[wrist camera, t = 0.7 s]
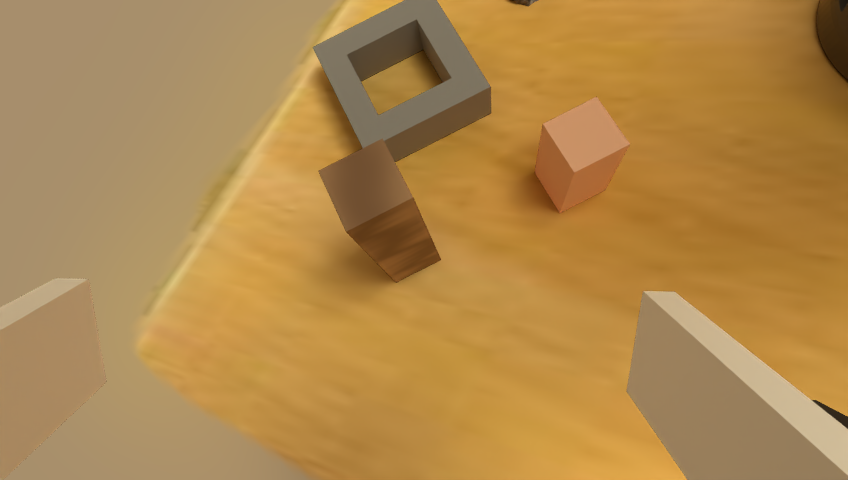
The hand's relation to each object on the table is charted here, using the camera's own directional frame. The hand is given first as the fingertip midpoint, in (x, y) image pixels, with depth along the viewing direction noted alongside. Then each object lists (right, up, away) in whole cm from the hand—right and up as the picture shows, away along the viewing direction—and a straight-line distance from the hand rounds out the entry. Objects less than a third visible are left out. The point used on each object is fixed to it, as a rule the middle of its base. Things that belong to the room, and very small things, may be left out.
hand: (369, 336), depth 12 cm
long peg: (0, +2, +29) cm, 29 cm away
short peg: (+13, +7, +28) cm, 32 cm away
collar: (0, +15, +33) cm, 36 cm away
